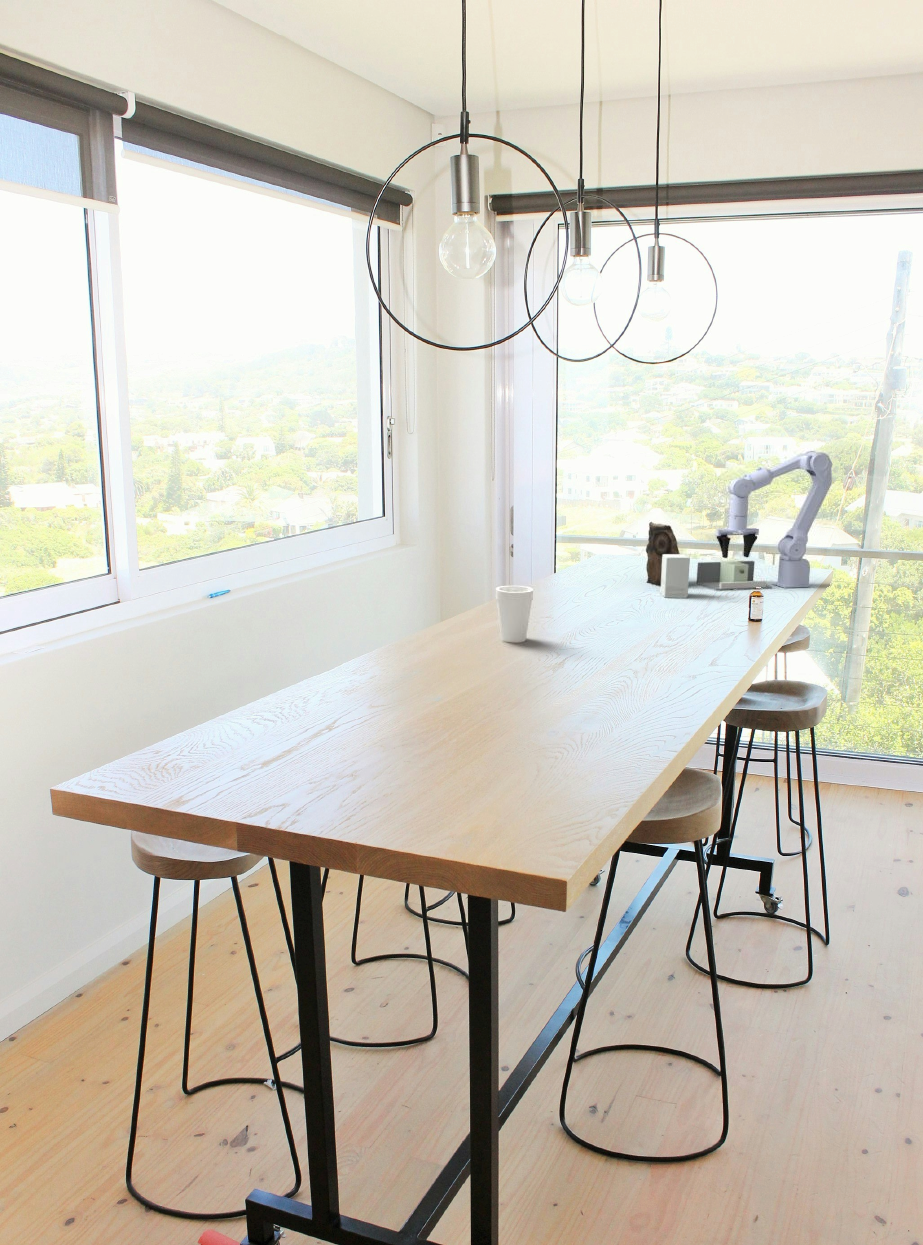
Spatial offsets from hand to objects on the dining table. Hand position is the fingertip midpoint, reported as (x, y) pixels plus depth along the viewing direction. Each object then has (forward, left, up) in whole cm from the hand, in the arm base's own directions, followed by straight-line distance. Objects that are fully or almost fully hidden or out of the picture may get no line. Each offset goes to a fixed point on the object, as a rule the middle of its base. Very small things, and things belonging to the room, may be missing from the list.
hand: (735, 557), depth 333 cm
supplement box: (+27, +12, -10) cm, 31 cm away
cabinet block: (0, 0, -9) cm, 9 cm away
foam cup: (+93, +57, -10) cm, 110 cm away
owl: (+20, -8, -10) cm, 24 cm away
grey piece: (0, 0, -9) cm, 9 cm away
